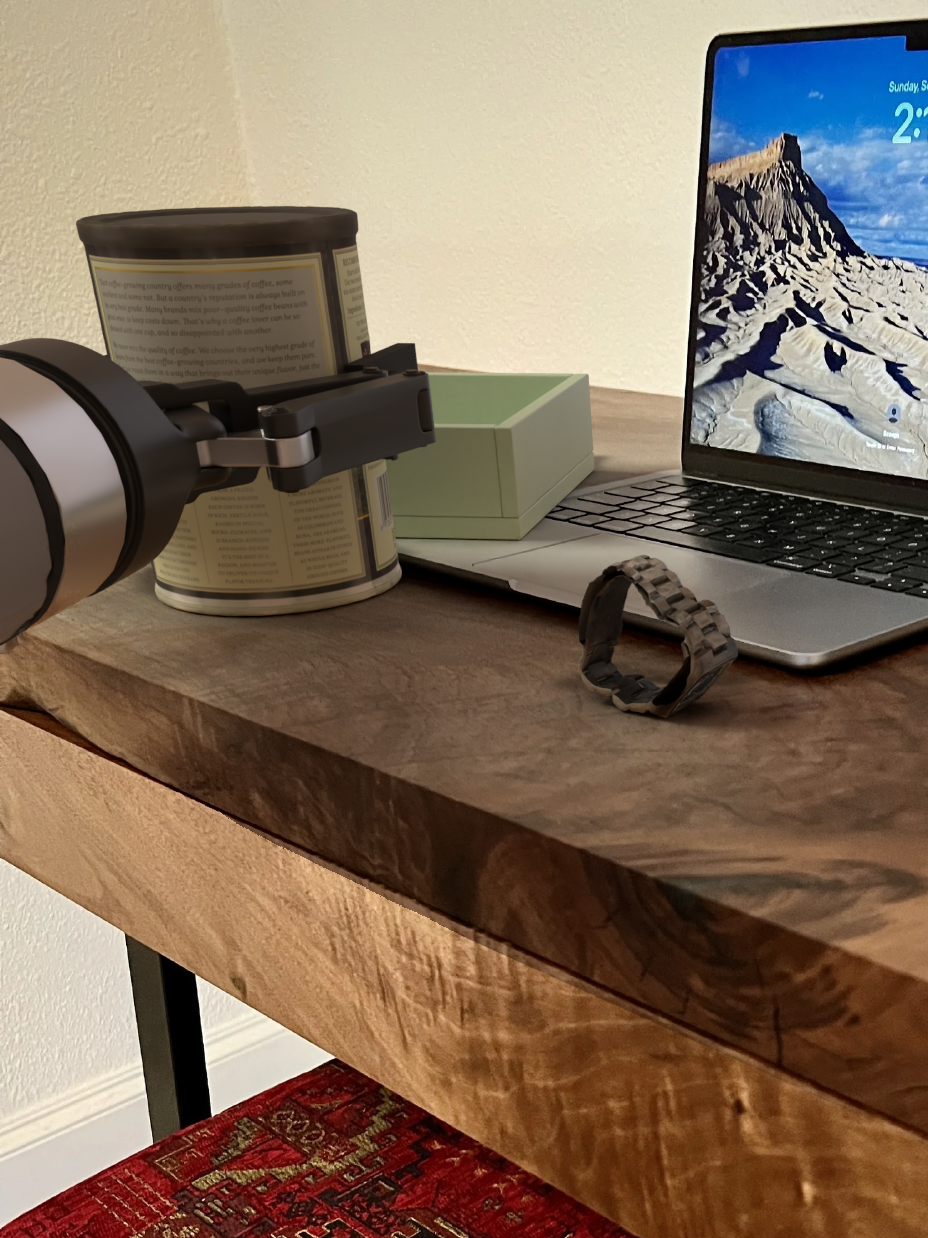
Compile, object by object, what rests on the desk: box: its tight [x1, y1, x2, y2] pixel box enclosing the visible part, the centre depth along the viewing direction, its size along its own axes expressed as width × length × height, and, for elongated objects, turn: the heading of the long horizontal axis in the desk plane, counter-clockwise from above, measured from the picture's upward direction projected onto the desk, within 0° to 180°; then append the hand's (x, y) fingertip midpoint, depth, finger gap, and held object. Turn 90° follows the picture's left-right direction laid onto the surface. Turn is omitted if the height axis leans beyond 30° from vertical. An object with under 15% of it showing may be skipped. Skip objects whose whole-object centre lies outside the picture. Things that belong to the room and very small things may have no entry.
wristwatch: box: [575, 554, 739, 718], centre depth 54 cm, size 3×5×5 cm
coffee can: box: [75, 205, 403, 617], centre depth 65 cm, size 10×10×14 cm
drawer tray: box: [385, 371, 596, 541], centre depth 82 cm, size 17×17×5 cm
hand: (287, 376), depth 68 cm, fingers closed on coffee can, 10 cm apart
